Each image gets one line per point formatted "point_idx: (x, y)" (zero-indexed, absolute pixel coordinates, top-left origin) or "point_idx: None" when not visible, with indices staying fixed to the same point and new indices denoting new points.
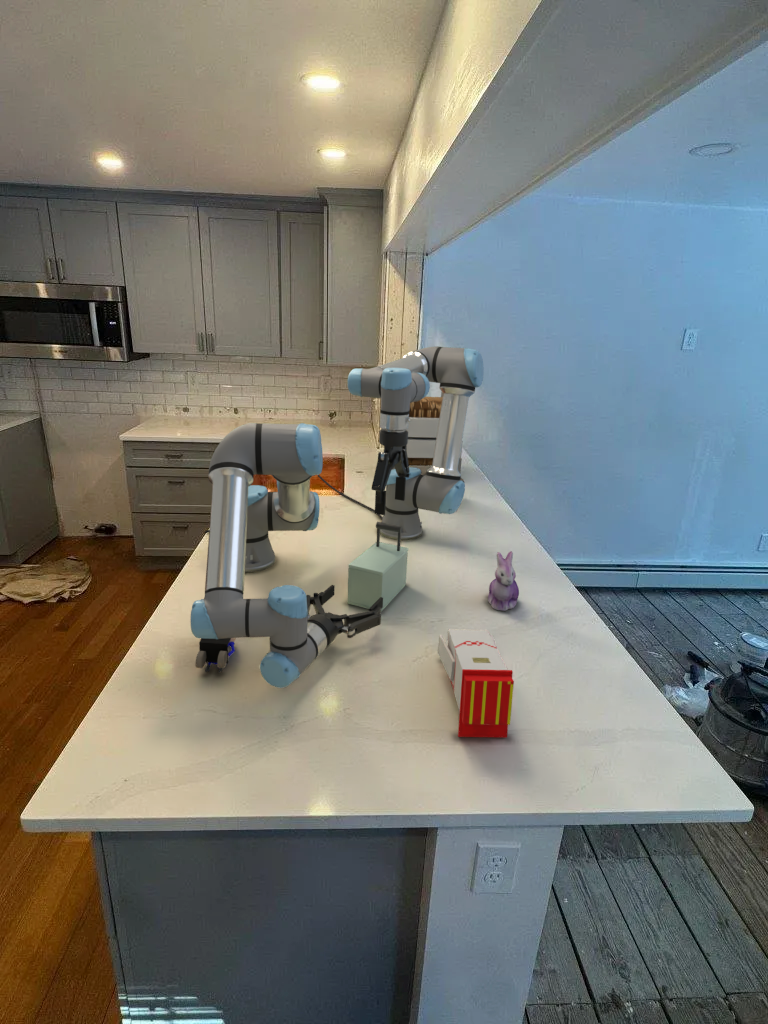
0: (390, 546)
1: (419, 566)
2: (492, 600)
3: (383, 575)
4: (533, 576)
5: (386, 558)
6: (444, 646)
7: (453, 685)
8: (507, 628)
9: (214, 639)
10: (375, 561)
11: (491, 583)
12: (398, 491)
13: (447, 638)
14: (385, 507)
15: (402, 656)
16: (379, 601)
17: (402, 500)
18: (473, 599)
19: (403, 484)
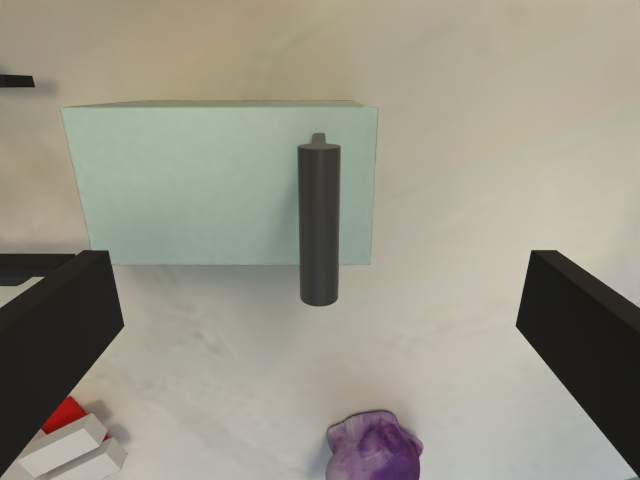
0: (346, 192)
1: (501, 202)
2: (346, 432)
3: None
4: (541, 465)
5: (218, 227)
6: None
7: None
8: (263, 461)
9: None
10: (163, 200)
11: (376, 450)
12: (571, 325)
13: (90, 415)
14: (90, 365)
15: None
16: (28, 276)
17: (519, 317)
18: (355, 383)
19: (622, 438)
